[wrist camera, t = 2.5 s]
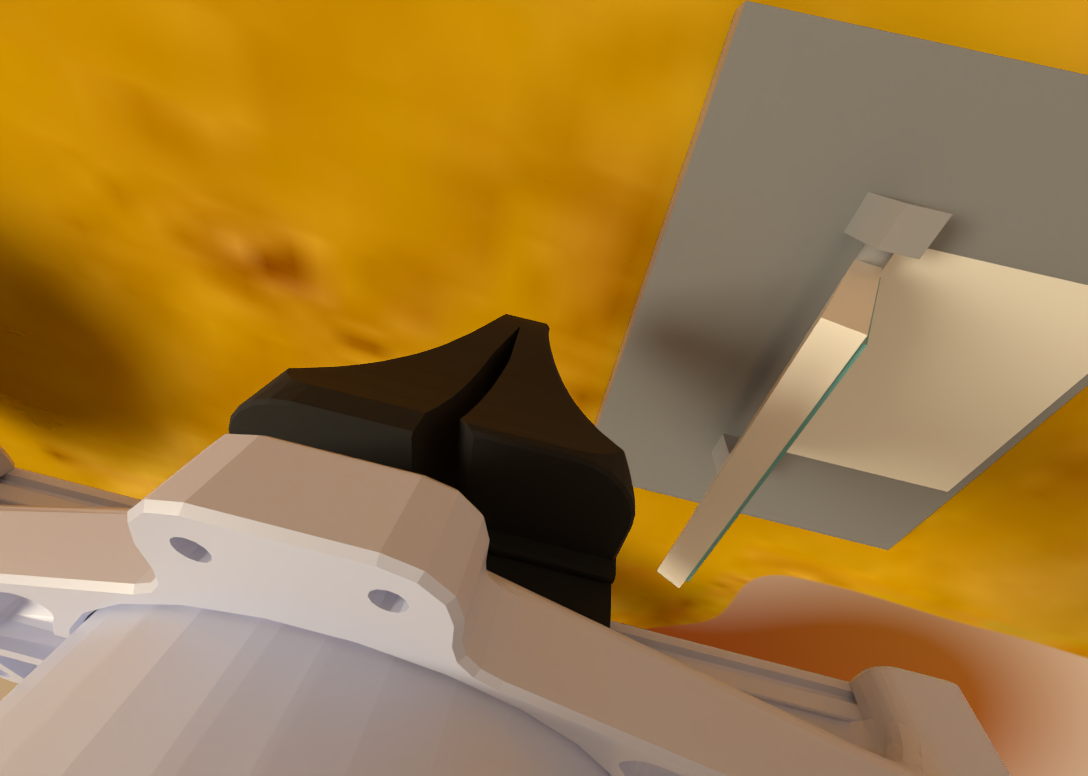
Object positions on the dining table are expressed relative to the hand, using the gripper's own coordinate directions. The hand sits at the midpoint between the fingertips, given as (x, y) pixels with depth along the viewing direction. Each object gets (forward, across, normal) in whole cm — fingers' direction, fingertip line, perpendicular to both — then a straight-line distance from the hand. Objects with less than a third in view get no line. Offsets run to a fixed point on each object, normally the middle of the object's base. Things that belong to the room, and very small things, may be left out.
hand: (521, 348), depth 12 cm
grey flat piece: (+5, -12, 0) cm, 13 cm away
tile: (0, -7, 0) cm, 7 cm away
